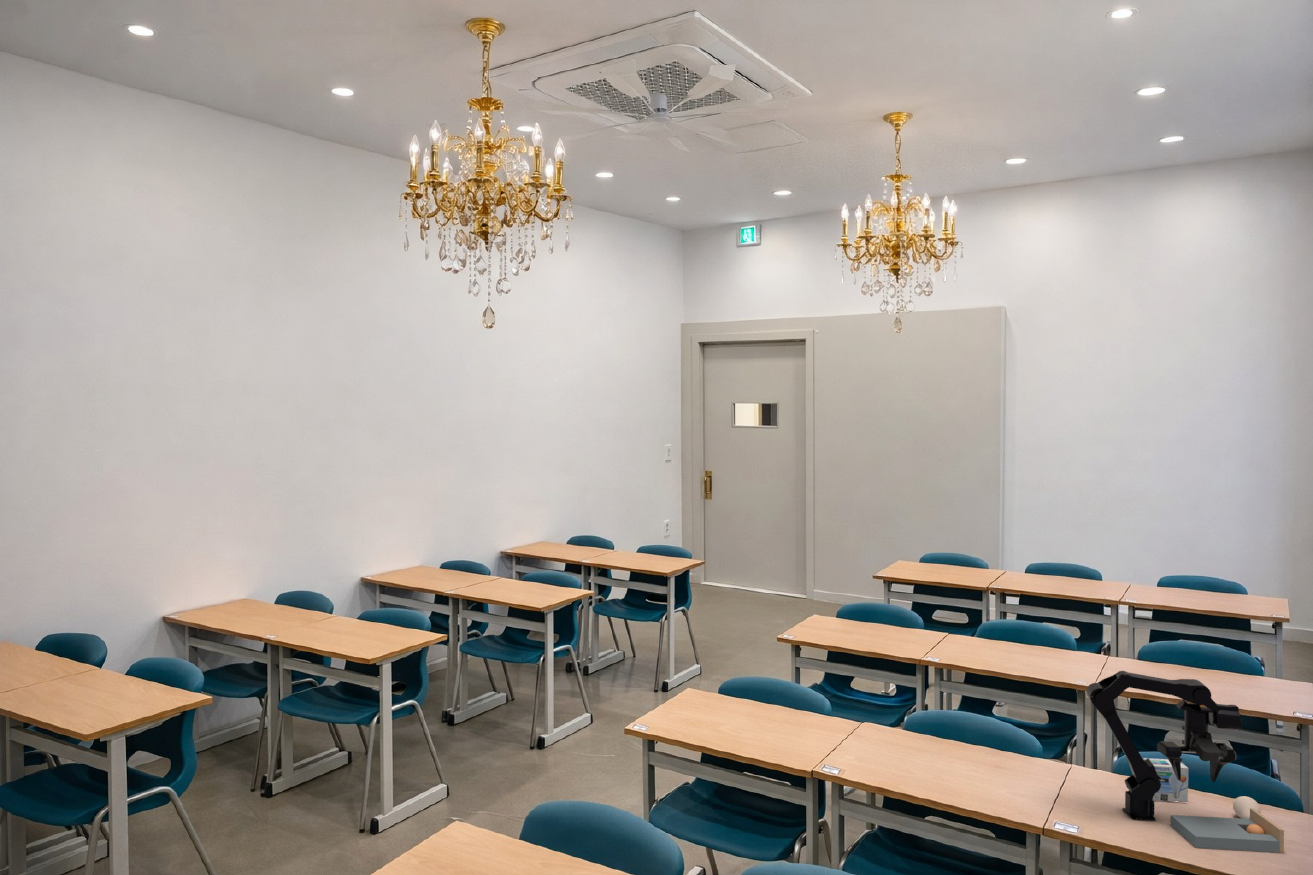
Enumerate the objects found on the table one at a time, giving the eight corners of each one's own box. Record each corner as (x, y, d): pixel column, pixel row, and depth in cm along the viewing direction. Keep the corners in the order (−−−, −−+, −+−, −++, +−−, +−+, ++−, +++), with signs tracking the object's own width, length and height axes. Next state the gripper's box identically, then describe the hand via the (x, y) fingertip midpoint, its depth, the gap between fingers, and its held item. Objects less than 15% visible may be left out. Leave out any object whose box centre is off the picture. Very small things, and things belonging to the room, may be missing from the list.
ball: (1270, 838, 225) (1256, 846, 225) (1261, 829, 228) (1247, 836, 229) (1263, 827, 224) (1249, 834, 225) (1253, 818, 228) (1240, 825, 229)
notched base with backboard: (1195, 847, 222) (1195, 825, 222) (1170, 825, 234) (1170, 804, 235) (1283, 852, 219) (1283, 829, 219) (1253, 829, 232) (1253, 808, 232)
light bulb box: (1151, 801, 250) (1151, 765, 250) (1141, 791, 257) (1141, 757, 257) (1189, 803, 249) (1189, 767, 249) (1178, 794, 256) (1178, 759, 256)
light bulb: (1263, 816, 230) (1256, 791, 240) (1235, 815, 234) (1229, 790, 243) (1267, 837, 231) (1260, 811, 241) (1239, 835, 235) (1233, 810, 244)
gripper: (1176, 734, 229) (1176, 790, 229) (1248, 737, 227) (1248, 794, 227) (1156, 720, 240) (1155, 774, 240) (1224, 723, 238) (1224, 778, 238)
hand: (1195, 780), depth 236 cm, fingers open, 9 cm apart
